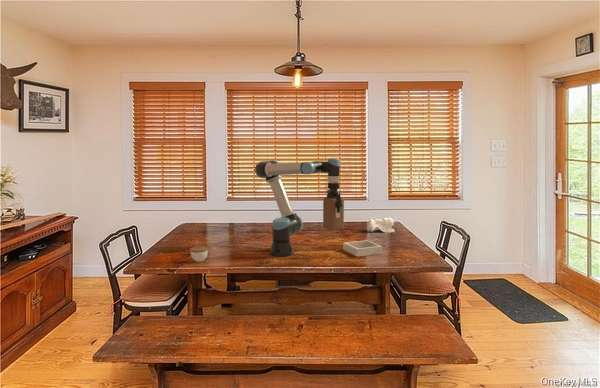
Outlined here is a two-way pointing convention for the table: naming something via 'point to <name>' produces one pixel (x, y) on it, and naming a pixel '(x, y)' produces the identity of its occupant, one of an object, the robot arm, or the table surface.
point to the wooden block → (332, 214)
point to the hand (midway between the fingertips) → (333, 216)
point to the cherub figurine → (382, 224)
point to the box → (362, 248)
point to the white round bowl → (199, 253)
